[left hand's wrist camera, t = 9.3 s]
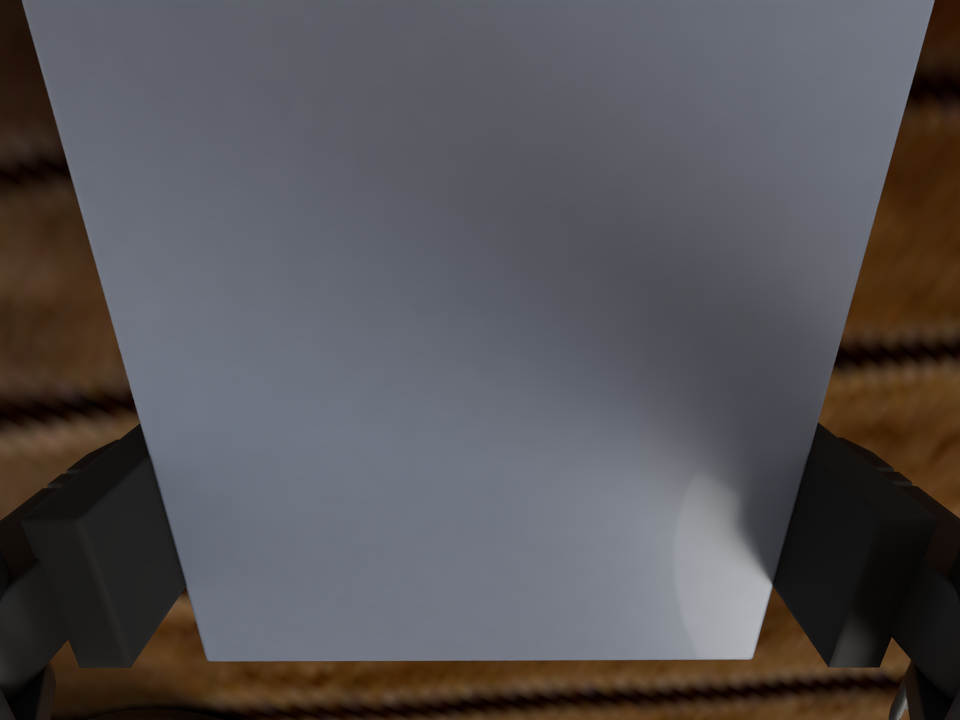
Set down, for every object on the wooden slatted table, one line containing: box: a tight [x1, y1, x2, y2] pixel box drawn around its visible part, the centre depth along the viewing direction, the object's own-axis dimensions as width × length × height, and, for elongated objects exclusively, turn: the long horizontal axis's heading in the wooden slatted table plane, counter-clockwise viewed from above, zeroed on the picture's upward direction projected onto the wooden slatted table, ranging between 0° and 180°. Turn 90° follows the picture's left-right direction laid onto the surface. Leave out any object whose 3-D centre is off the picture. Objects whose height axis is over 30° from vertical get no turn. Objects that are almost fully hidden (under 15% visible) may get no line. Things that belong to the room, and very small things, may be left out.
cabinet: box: [22, 0, 934, 661], centre depth 11 cm, size 19×10×10 cm, turn 0°
